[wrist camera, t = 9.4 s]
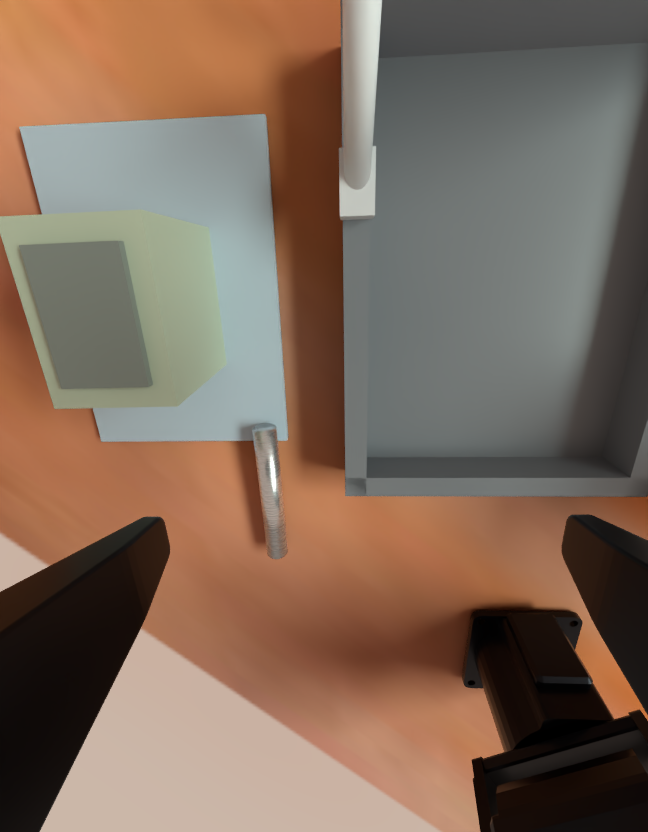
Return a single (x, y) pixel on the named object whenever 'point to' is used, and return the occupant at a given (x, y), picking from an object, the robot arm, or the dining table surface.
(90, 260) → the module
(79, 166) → the blue-grey flat plate
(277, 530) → the rod
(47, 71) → the dining table surface
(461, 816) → the dining table surface
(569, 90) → the equipment case
